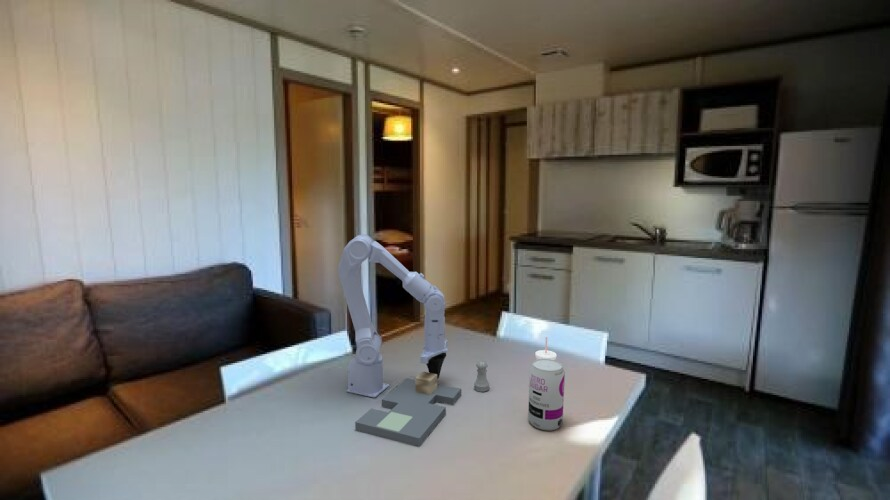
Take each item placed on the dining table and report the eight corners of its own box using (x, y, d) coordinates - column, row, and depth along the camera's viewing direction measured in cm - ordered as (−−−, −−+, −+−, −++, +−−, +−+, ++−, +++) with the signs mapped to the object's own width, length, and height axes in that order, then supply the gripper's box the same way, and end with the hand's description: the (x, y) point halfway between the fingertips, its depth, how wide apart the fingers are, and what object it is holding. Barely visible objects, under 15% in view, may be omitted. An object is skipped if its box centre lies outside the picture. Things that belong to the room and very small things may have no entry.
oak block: (415, 391, 117) (415, 378, 117) (422, 385, 122) (422, 371, 121) (430, 395, 116) (430, 380, 115) (437, 387, 120) (437, 374, 119)
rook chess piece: (488, 393, 121) (489, 366, 120) (472, 391, 122) (473, 364, 121) (490, 386, 125) (490, 359, 124) (474, 384, 126) (475, 358, 125)
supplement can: (563, 417, 108) (565, 360, 106) (561, 434, 101) (563, 373, 99) (530, 411, 111) (532, 356, 109) (526, 428, 103) (527, 369, 101)
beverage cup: (532, 385, 126) (534, 339, 124) (536, 376, 131) (537, 332, 129) (553, 389, 124) (555, 342, 121) (556, 380, 129) (558, 335, 127)
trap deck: (355, 429, 103) (355, 422, 102) (406, 384, 126) (406, 377, 126) (419, 446, 96) (419, 438, 96) (461, 395, 120) (461, 388, 119)
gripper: (437, 343, 113) (437, 391, 115) (457, 326, 127) (456, 370, 129) (413, 339, 116) (413, 387, 118) (435, 323, 129) (435, 366, 131)
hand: (434, 378), depth 124 cm, fingers closed
